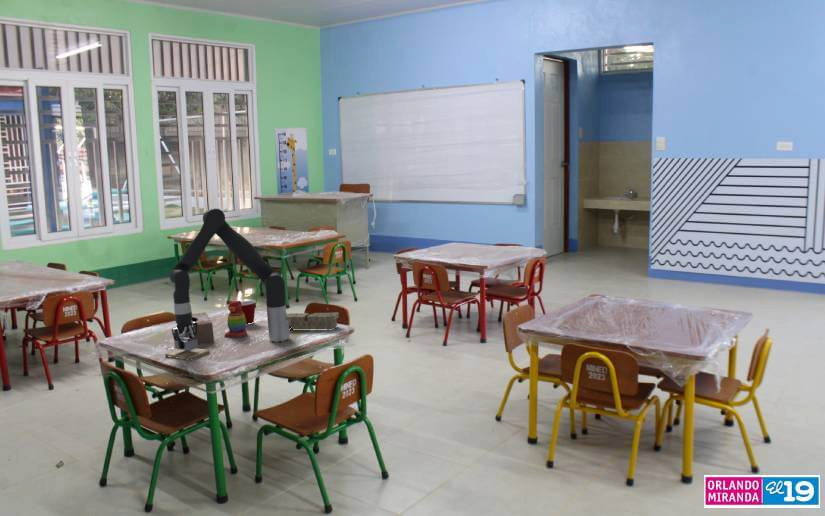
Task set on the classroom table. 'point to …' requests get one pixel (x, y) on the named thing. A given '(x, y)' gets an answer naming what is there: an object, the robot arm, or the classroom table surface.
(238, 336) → the stacking bear
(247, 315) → the plastic cup
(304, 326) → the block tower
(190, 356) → the keeper board
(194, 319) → the tissue box cover
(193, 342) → the grey storage bin
